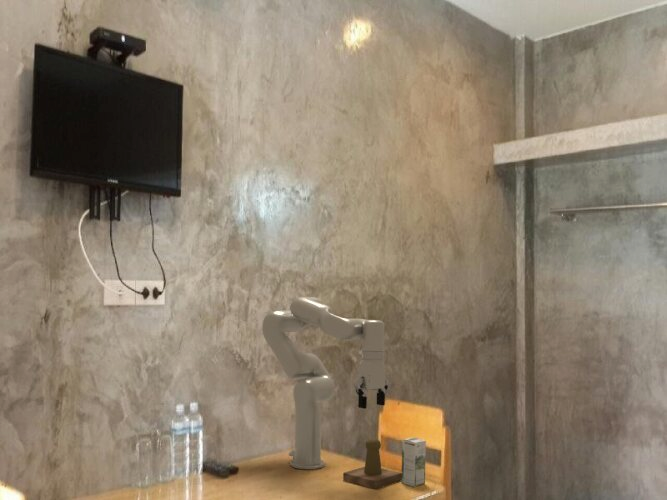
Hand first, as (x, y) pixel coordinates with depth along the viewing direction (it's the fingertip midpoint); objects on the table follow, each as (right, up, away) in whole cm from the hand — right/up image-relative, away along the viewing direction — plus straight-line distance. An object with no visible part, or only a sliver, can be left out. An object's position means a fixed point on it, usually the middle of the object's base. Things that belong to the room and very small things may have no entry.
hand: (371, 406), depth 216 cm
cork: (0, -22, -3) cm, 22 cm away
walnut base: (0, -24, -3) cm, 24 cm away
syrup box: (+14, -24, -6) cm, 29 cm away
